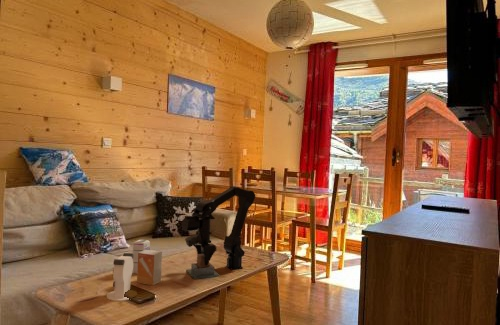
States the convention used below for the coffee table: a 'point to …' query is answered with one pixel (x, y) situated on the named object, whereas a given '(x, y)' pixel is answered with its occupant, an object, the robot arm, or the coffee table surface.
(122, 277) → the white piece
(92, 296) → the coffee table surface
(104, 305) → the coffee table surface
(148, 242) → the syrup box
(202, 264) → the peg
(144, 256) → the small box
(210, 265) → the socket
